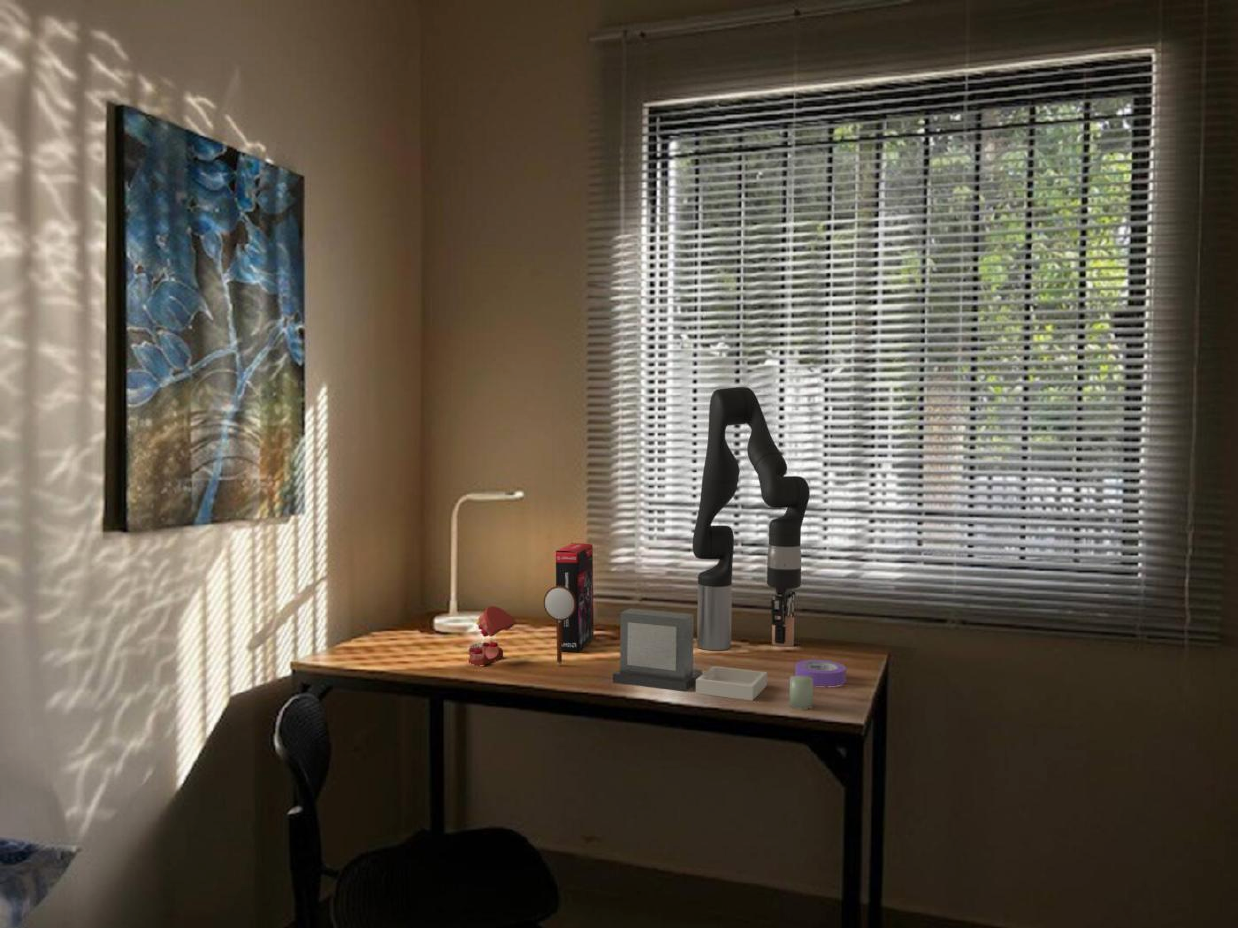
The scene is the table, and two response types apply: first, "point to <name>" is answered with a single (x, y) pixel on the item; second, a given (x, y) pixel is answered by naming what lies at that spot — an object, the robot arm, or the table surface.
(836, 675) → the masking tape
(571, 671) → the table surface
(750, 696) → the tray
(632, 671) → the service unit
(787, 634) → the cylinder
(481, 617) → the anatomical model
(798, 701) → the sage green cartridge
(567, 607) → the magnifying glass
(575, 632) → the graphics card box
